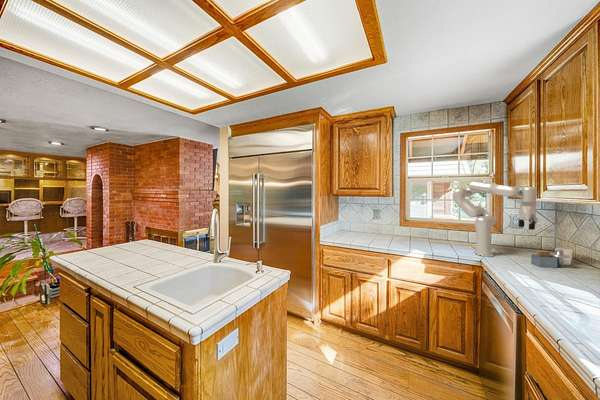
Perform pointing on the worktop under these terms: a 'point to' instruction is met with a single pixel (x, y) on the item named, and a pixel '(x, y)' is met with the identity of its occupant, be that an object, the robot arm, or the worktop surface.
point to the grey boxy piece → (549, 259)
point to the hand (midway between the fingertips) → (526, 228)
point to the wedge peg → (543, 253)
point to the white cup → (568, 252)
